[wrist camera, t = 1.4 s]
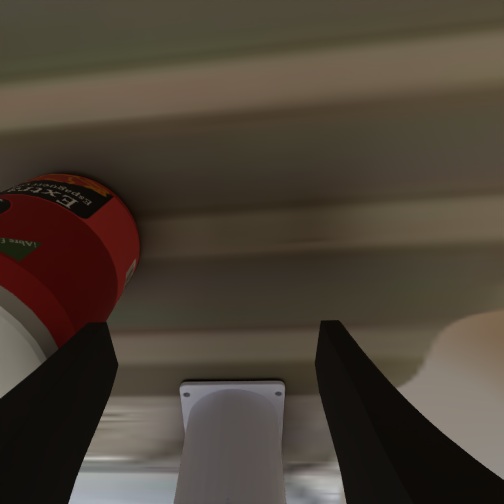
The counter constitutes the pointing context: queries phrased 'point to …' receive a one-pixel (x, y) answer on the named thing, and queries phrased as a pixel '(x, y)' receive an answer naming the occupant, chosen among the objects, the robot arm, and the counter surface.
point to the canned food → (58, 266)
